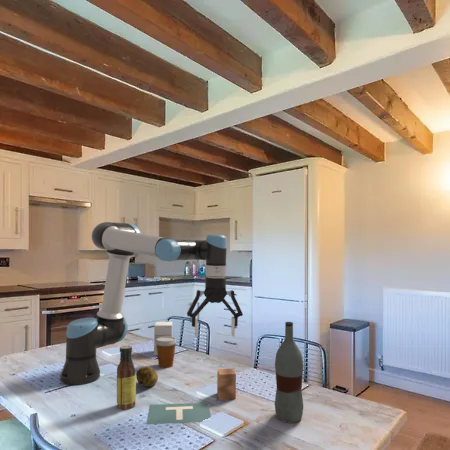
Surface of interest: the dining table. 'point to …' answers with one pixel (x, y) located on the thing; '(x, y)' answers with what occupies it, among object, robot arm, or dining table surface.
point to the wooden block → (226, 384)
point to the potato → (146, 376)
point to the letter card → (178, 413)
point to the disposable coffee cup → (165, 351)
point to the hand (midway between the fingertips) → (214, 335)
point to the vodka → (289, 379)
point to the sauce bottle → (126, 379)
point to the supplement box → (161, 332)
